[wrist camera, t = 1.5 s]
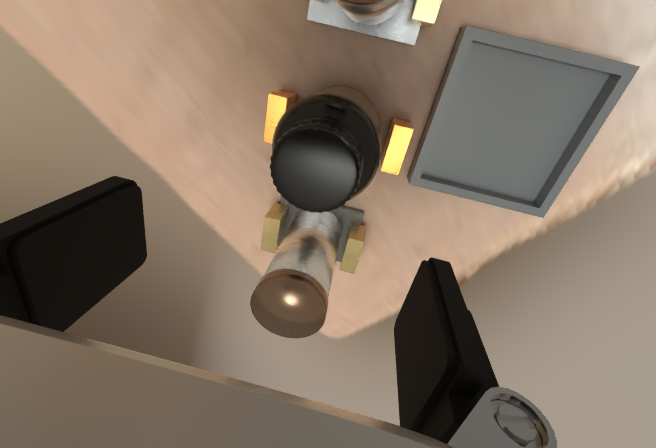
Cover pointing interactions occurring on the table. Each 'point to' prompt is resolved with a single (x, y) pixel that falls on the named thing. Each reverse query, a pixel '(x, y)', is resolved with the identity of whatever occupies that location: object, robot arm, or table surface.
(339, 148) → the supplement bottle
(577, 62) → the tray
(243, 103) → the table surface
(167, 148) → the table surface
